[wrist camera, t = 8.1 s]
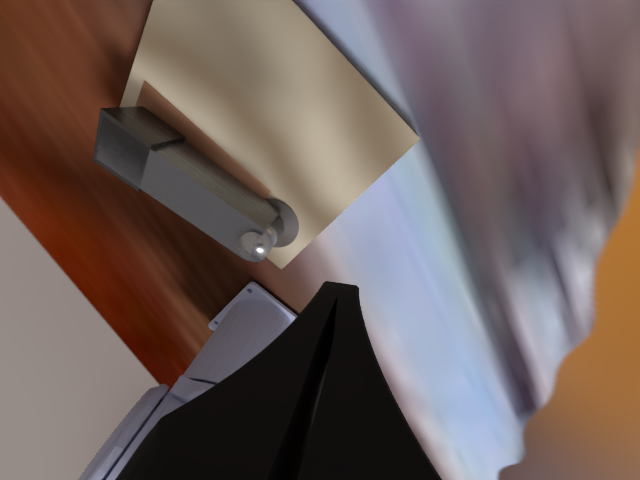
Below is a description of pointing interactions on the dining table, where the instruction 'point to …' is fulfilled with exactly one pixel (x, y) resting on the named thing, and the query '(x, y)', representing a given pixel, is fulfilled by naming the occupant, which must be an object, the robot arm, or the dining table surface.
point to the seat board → (268, 106)
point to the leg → (185, 181)
